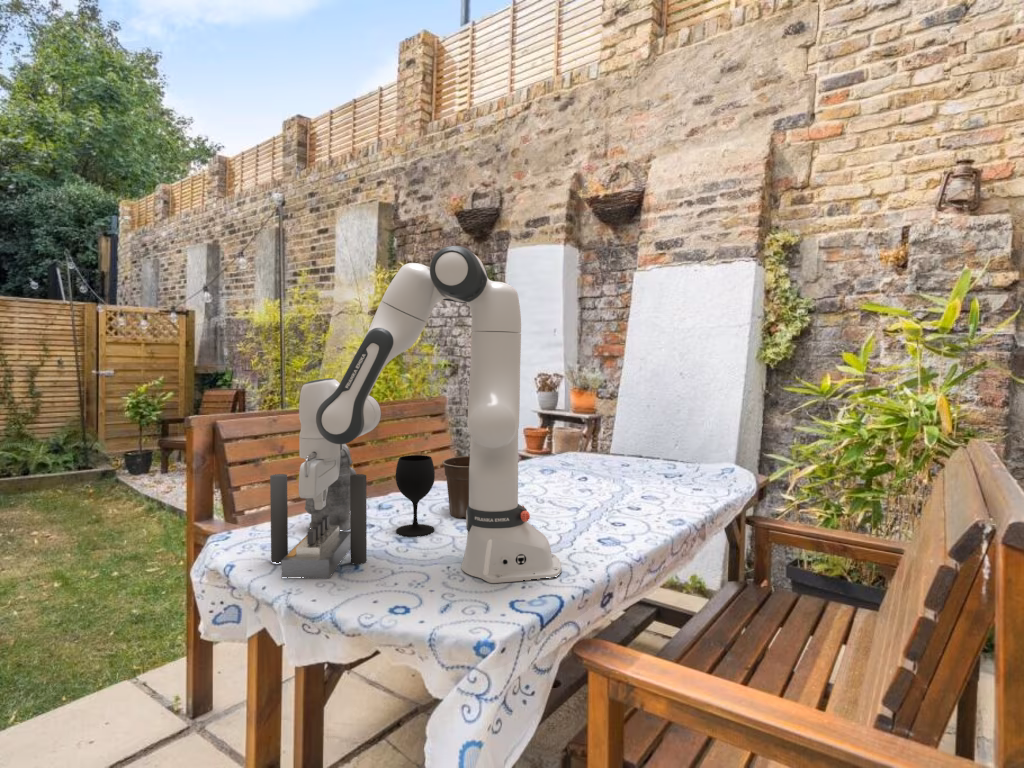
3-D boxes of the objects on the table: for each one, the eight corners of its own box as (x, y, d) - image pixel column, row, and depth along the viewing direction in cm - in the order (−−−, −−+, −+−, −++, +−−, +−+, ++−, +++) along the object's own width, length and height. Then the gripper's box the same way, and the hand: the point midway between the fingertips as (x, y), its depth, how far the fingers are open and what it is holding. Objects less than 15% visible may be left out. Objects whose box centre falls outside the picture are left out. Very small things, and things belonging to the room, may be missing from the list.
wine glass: (440, 527, 161) (440, 455, 160) (425, 538, 151) (425, 462, 150) (406, 524, 164) (406, 453, 163) (388, 535, 154) (388, 460, 153)
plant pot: (462, 525, 164) (462, 468, 163) (432, 512, 176) (432, 459, 175) (507, 515, 174) (507, 461, 173) (475, 504, 186) (475, 454, 185)
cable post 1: (290, 559, 135) (289, 474, 134) (284, 564, 132) (283, 477, 131) (274, 559, 135) (273, 473, 134) (268, 564, 132) (267, 477, 131)
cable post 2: (368, 558, 136) (367, 474, 135) (364, 564, 132) (364, 477, 131) (352, 558, 136) (352, 474, 135) (348, 564, 132) (348, 477, 131)
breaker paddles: (329, 526, 140) (329, 515, 140) (313, 544, 127) (312, 531, 127) (324, 526, 140) (324, 515, 140) (307, 544, 127) (307, 531, 127)
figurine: (299, 530, 157) (298, 438, 156) (345, 519, 168) (344, 433, 167) (318, 537, 151) (317, 442, 150) (364, 525, 162) (364, 436, 161)
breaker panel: (351, 547, 144) (351, 523, 144) (329, 578, 124) (328, 550, 124) (310, 547, 144) (310, 523, 143) (281, 578, 124) (281, 550, 123)
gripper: (320, 456, 124) (321, 521, 124) (344, 442, 144) (344, 497, 145) (290, 456, 123) (291, 521, 124) (318, 442, 144) (319, 497, 144)
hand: (320, 508), depth 134 cm, fingers closed
